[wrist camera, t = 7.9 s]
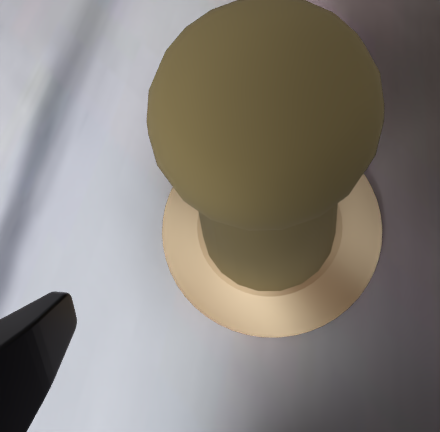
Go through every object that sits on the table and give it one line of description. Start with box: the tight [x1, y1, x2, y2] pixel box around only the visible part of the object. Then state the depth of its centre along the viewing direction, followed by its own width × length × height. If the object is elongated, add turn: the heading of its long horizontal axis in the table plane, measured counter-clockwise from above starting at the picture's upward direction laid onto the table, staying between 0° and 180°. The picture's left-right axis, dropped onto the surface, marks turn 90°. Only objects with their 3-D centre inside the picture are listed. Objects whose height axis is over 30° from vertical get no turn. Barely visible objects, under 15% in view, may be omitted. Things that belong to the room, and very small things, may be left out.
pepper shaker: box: [147, 0, 384, 291], centre depth 12 cm, size 6×6×11 cm
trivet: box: [162, 174, 382, 338], centre depth 18 cm, size 10×10×1 cm
